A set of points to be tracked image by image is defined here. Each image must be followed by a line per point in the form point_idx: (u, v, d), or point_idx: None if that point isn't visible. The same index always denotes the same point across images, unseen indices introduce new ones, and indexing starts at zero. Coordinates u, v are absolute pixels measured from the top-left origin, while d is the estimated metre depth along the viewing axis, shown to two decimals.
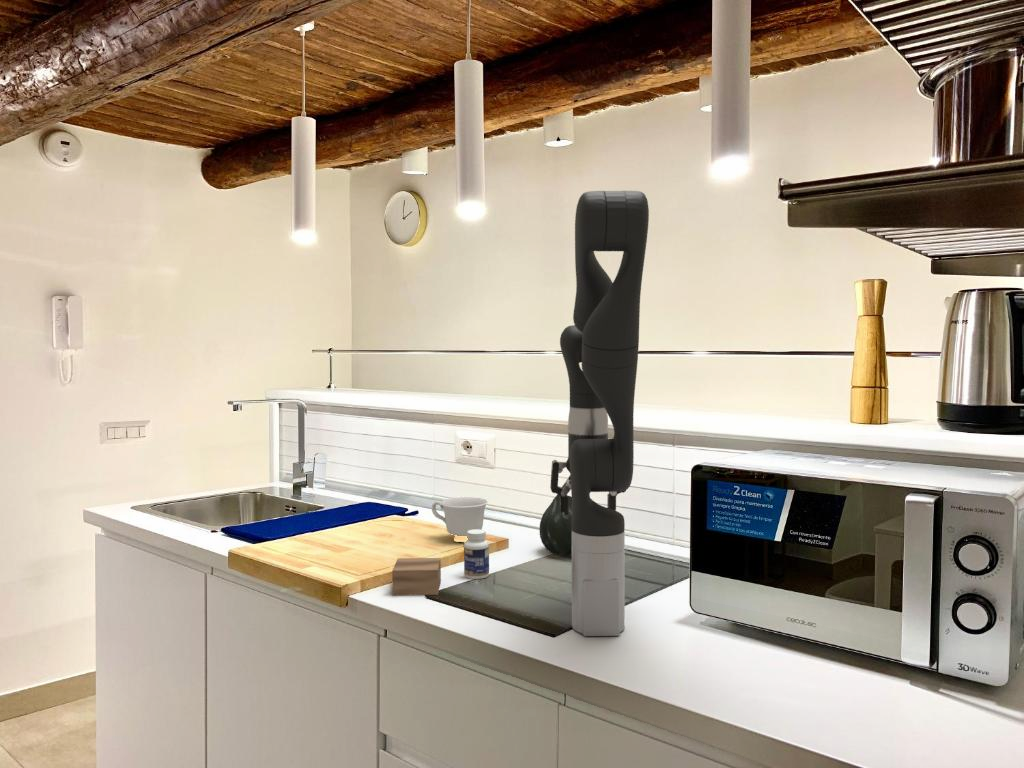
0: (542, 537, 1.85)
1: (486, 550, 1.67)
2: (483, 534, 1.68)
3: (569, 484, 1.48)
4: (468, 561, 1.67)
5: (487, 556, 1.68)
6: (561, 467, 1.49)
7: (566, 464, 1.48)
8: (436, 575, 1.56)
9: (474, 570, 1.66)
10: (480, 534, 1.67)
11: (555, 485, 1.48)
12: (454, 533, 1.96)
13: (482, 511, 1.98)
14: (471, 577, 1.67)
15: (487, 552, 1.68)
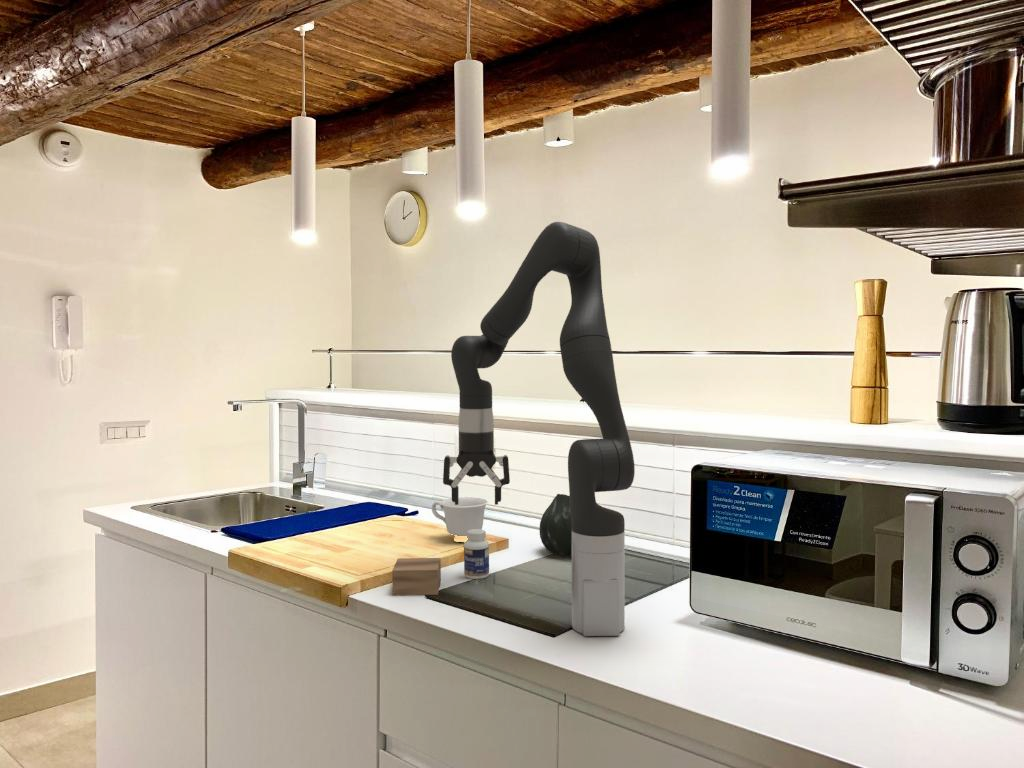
0: (542, 537, 1.85)
1: (486, 550, 1.67)
2: (483, 534, 1.68)
3: (458, 476, 1.66)
4: (468, 561, 1.67)
5: (487, 556, 1.68)
6: (452, 461, 1.67)
7: (456, 459, 1.67)
8: (436, 575, 1.56)
9: (474, 570, 1.66)
10: (480, 534, 1.67)
11: (446, 477, 1.67)
12: (454, 533, 1.96)
13: (482, 511, 1.98)
14: (471, 577, 1.67)
15: (487, 552, 1.68)
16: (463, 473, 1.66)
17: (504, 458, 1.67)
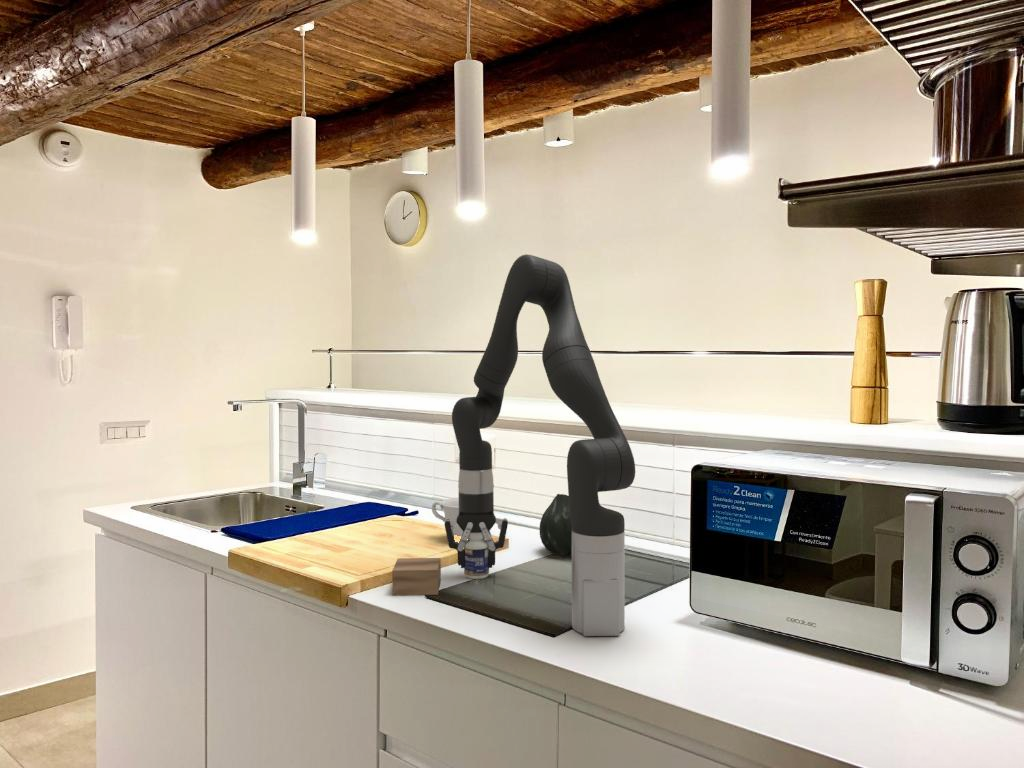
0: (542, 537, 1.85)
1: (486, 550, 1.67)
2: None
3: (462, 539, 1.67)
4: (467, 561, 1.67)
5: (487, 556, 1.68)
6: (453, 524, 1.68)
7: (456, 520, 1.68)
8: (436, 575, 1.56)
9: (474, 570, 1.66)
10: (480, 534, 1.67)
11: (451, 541, 1.67)
12: (454, 533, 1.96)
13: None
14: (471, 577, 1.67)
15: (487, 552, 1.68)
16: (466, 535, 1.67)
17: (504, 522, 1.67)
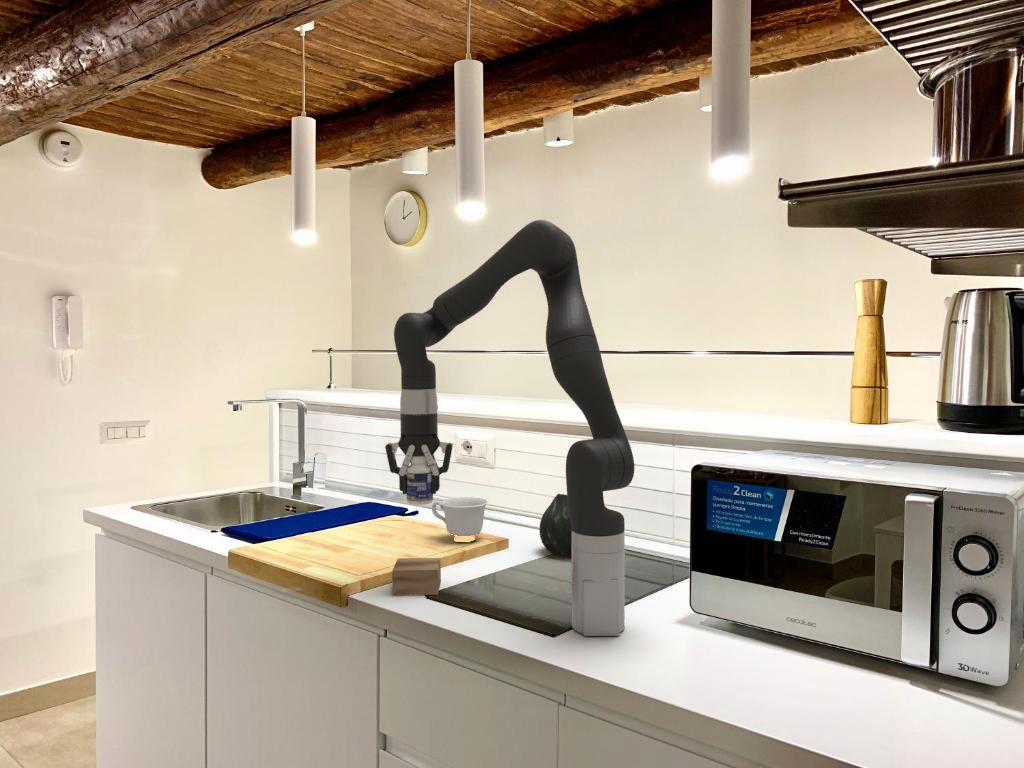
0: (542, 537, 1.85)
1: (429, 474, 1.59)
2: None
3: (404, 463, 1.59)
4: (409, 485, 1.59)
5: (430, 481, 1.59)
6: (394, 447, 1.60)
7: (398, 444, 1.59)
8: (436, 575, 1.56)
9: (416, 495, 1.58)
10: (422, 457, 1.59)
11: (392, 465, 1.59)
12: (454, 533, 1.96)
13: (482, 511, 1.98)
14: (412, 503, 1.58)
15: (430, 477, 1.59)
16: (407, 459, 1.59)
17: (448, 445, 1.59)
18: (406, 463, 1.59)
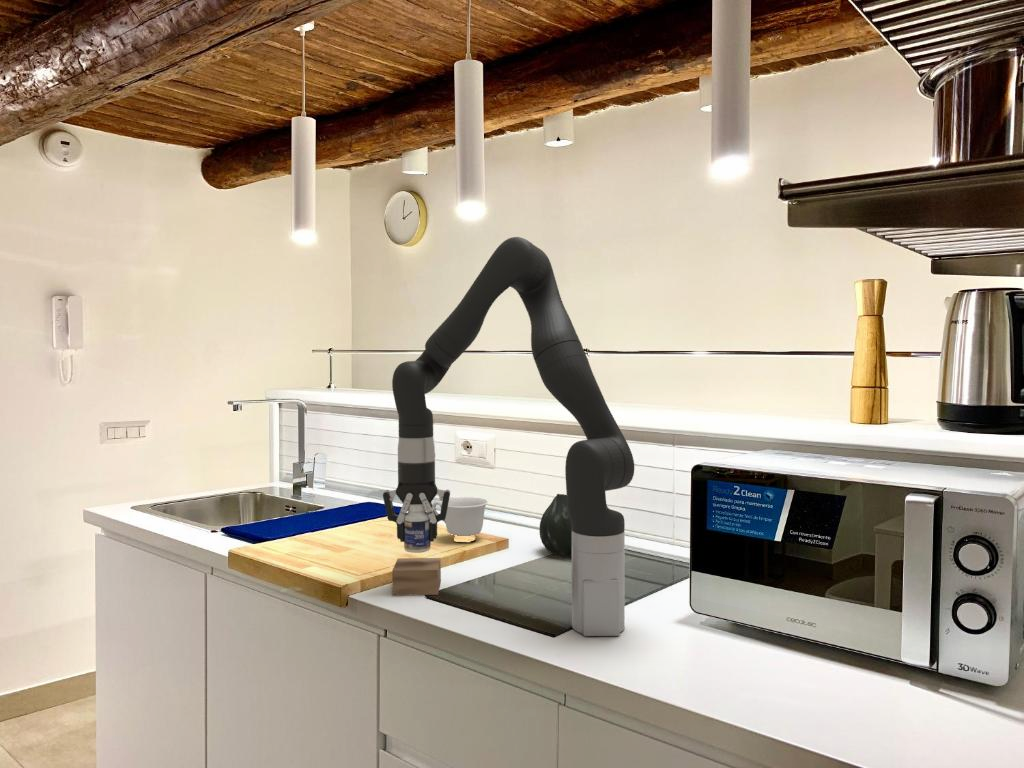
0: (542, 537, 1.85)
1: (427, 522, 1.59)
2: (423, 506, 1.59)
3: (401, 511, 1.58)
4: (407, 533, 1.58)
5: (428, 529, 1.59)
6: (392, 495, 1.59)
7: (395, 492, 1.59)
8: (436, 575, 1.56)
9: (413, 543, 1.58)
10: (420, 505, 1.58)
11: (390, 513, 1.59)
12: (454, 533, 1.96)
13: (482, 511, 1.98)
14: (410, 551, 1.58)
15: (428, 525, 1.59)
16: (405, 507, 1.58)
17: (445, 493, 1.59)
18: (404, 511, 1.58)
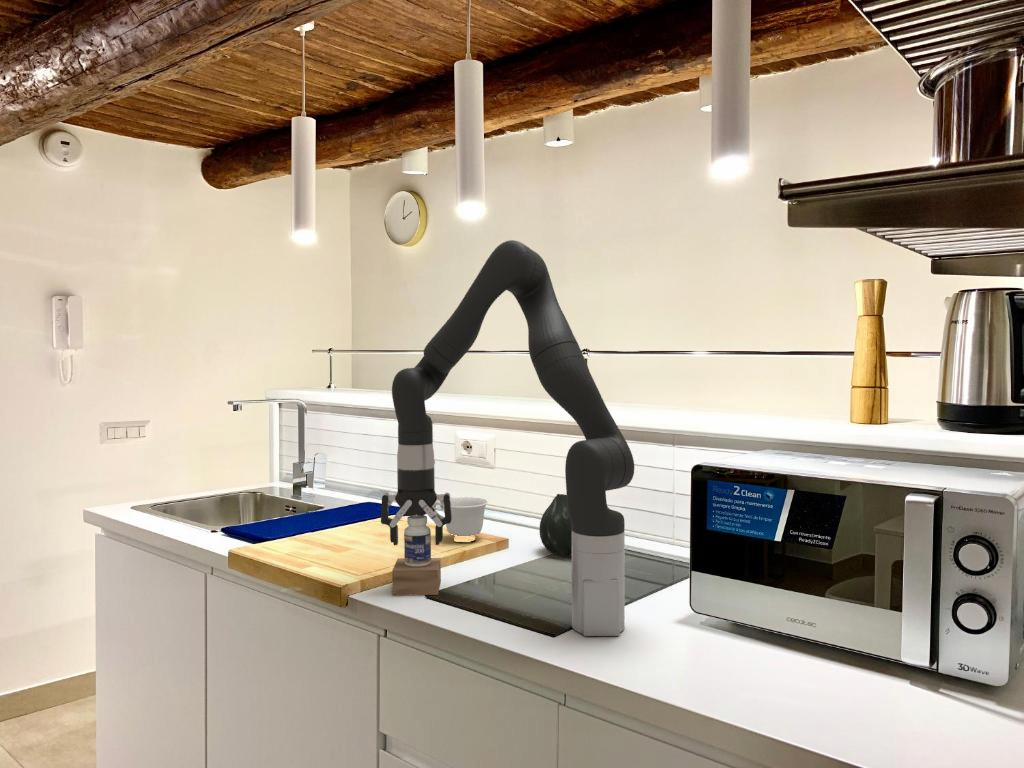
0: (542, 537, 1.85)
1: (427, 536, 1.59)
2: (424, 520, 1.59)
3: (397, 516, 1.58)
4: (407, 548, 1.58)
5: (428, 543, 1.59)
6: (390, 500, 1.59)
7: (395, 497, 1.59)
8: (436, 575, 1.56)
9: (414, 557, 1.58)
10: (420, 519, 1.58)
11: (384, 517, 1.59)
12: (454, 533, 1.96)
13: (482, 511, 1.98)
14: (411, 565, 1.58)
15: (428, 539, 1.59)
16: (402, 512, 1.58)
17: (445, 496, 1.59)
18: (399, 516, 1.58)
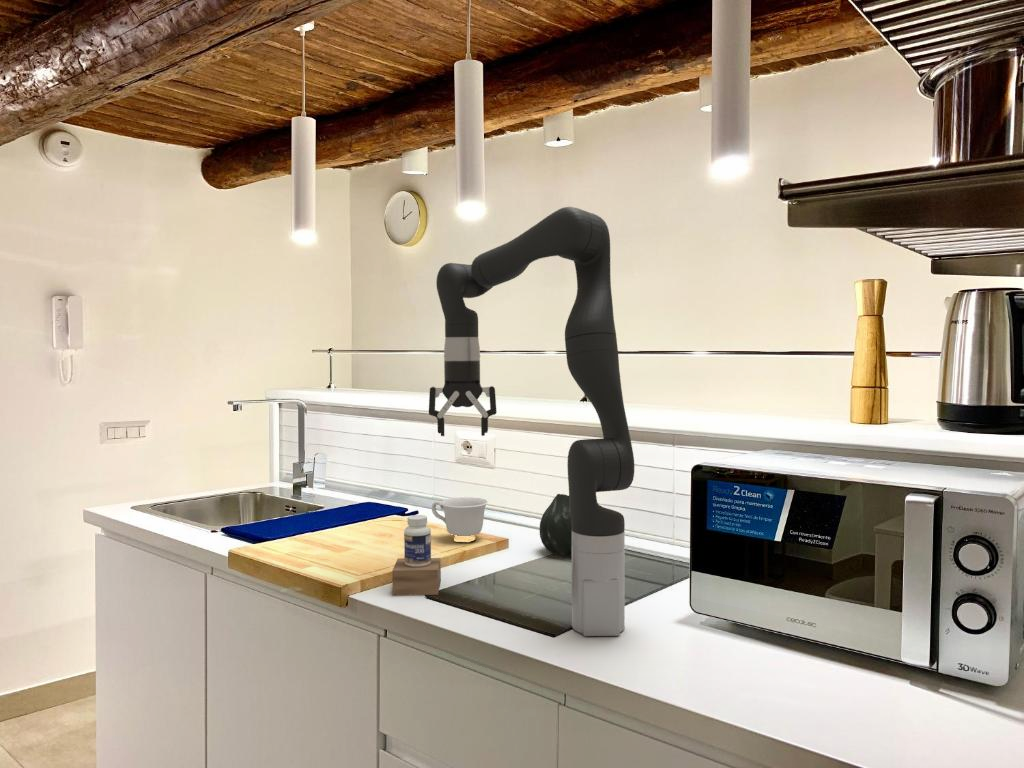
0: (542, 537, 1.85)
1: (427, 536, 1.59)
2: (424, 520, 1.59)
3: (444, 407, 1.64)
4: (407, 548, 1.58)
5: (428, 543, 1.59)
6: (438, 392, 1.65)
7: (442, 389, 1.65)
8: (436, 575, 1.56)
9: (414, 557, 1.58)
10: (421, 520, 1.58)
11: (432, 408, 1.64)
12: (454, 533, 1.96)
13: (482, 511, 1.98)
14: (411, 565, 1.58)
15: (428, 539, 1.59)
16: (449, 403, 1.64)
17: (491, 388, 1.65)
18: (447, 407, 1.64)
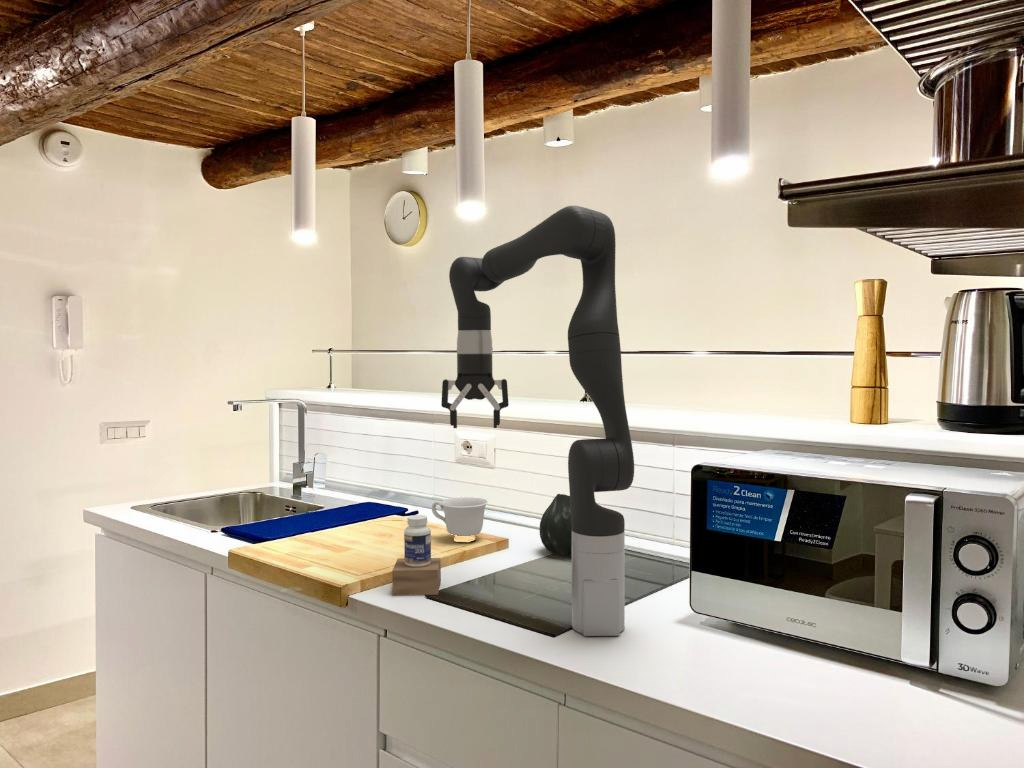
0: (542, 537, 1.85)
1: (427, 536, 1.59)
2: (424, 520, 1.59)
3: (457, 399, 1.66)
4: (407, 548, 1.58)
5: (428, 543, 1.59)
6: (450, 384, 1.67)
7: (455, 382, 1.66)
8: (436, 575, 1.56)
9: (414, 557, 1.58)
10: (421, 520, 1.58)
11: (445, 400, 1.66)
12: (454, 533, 1.96)
13: (482, 511, 1.98)
14: (411, 565, 1.58)
15: (428, 539, 1.59)
16: (462, 396, 1.65)
17: (503, 381, 1.66)
18: (459, 399, 1.66)
